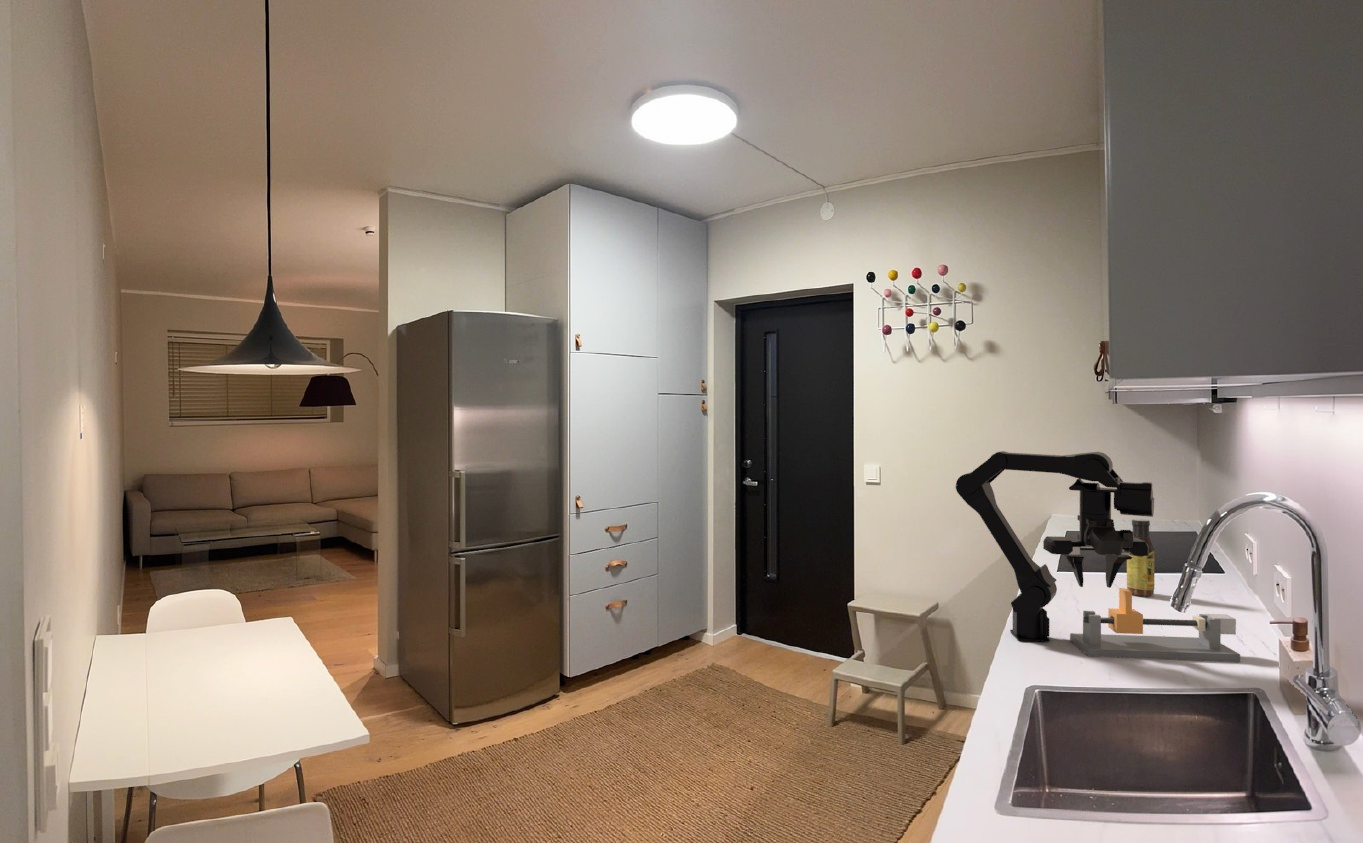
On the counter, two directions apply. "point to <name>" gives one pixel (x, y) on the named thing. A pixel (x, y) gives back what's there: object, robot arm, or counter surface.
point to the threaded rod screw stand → (1160, 639)
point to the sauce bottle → (1141, 563)
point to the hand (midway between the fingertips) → (1094, 587)
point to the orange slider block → (1126, 615)
